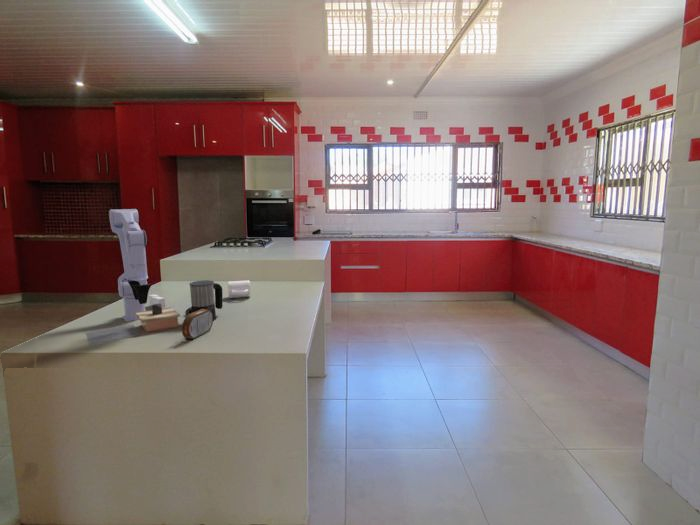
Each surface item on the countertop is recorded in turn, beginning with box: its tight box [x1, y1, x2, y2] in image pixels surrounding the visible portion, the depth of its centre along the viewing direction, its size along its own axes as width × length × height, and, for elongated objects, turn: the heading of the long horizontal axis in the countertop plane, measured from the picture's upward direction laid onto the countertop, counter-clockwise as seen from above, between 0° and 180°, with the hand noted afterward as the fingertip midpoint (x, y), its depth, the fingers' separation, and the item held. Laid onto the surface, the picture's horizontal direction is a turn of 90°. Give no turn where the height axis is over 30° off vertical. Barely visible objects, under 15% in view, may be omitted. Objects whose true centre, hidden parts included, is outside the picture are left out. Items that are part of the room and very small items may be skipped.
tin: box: [181, 309, 214, 340], centre depth 143 cm, size 15×3×8 cm, turn 166°
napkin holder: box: [148, 294, 166, 309], centre depth 182 cm, size 15×11×6 cm
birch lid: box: [135, 304, 181, 323], centre depth 152 cm, size 12×12×4 cm
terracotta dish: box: [140, 317, 179, 333], centre depth 153 cm, size 10×10×4 cm
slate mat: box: [85, 324, 142, 345], centre depth 144 cm, size 15×15×1 cm
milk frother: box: [184, 279, 223, 321], centre depth 164 cm, size 14×16×15 cm
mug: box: [227, 279, 251, 299], centre depth 197 cm, size 12×10×8 cm
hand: (140, 301), depth 150 cm, fingers open, 7 cm apart
